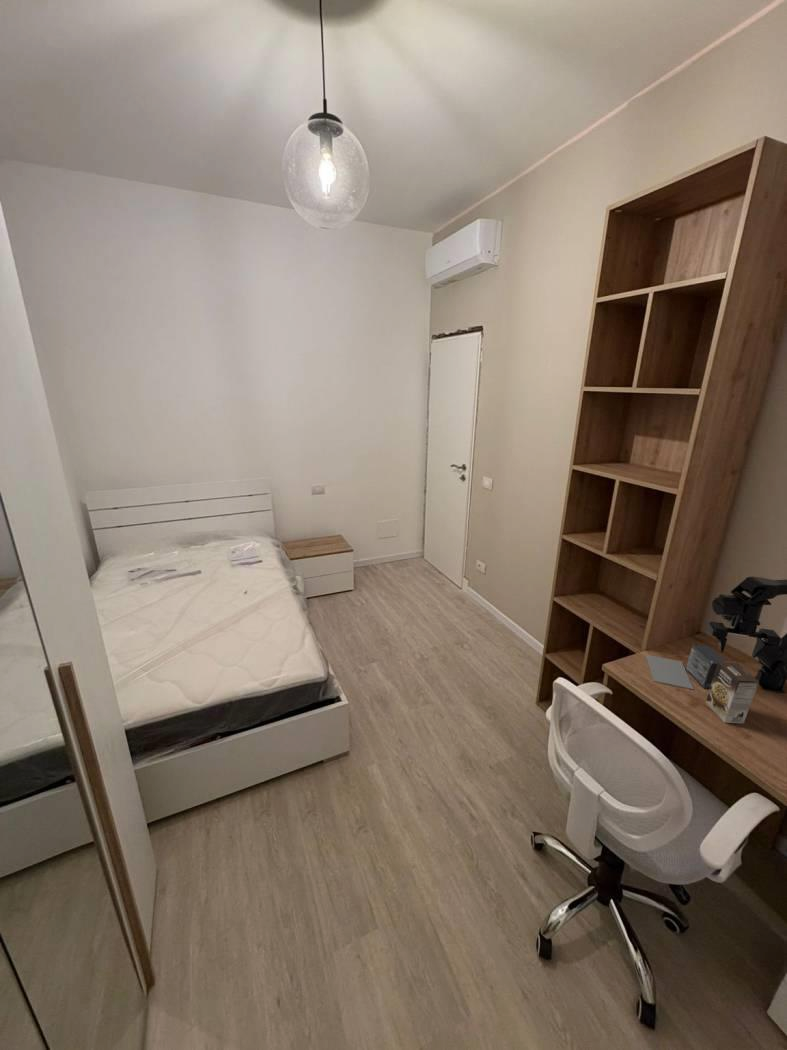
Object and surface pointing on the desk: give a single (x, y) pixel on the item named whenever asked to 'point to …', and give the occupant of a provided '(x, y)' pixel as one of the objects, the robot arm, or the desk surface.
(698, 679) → the small box
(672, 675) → the mat
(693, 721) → the desk surface
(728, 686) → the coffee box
